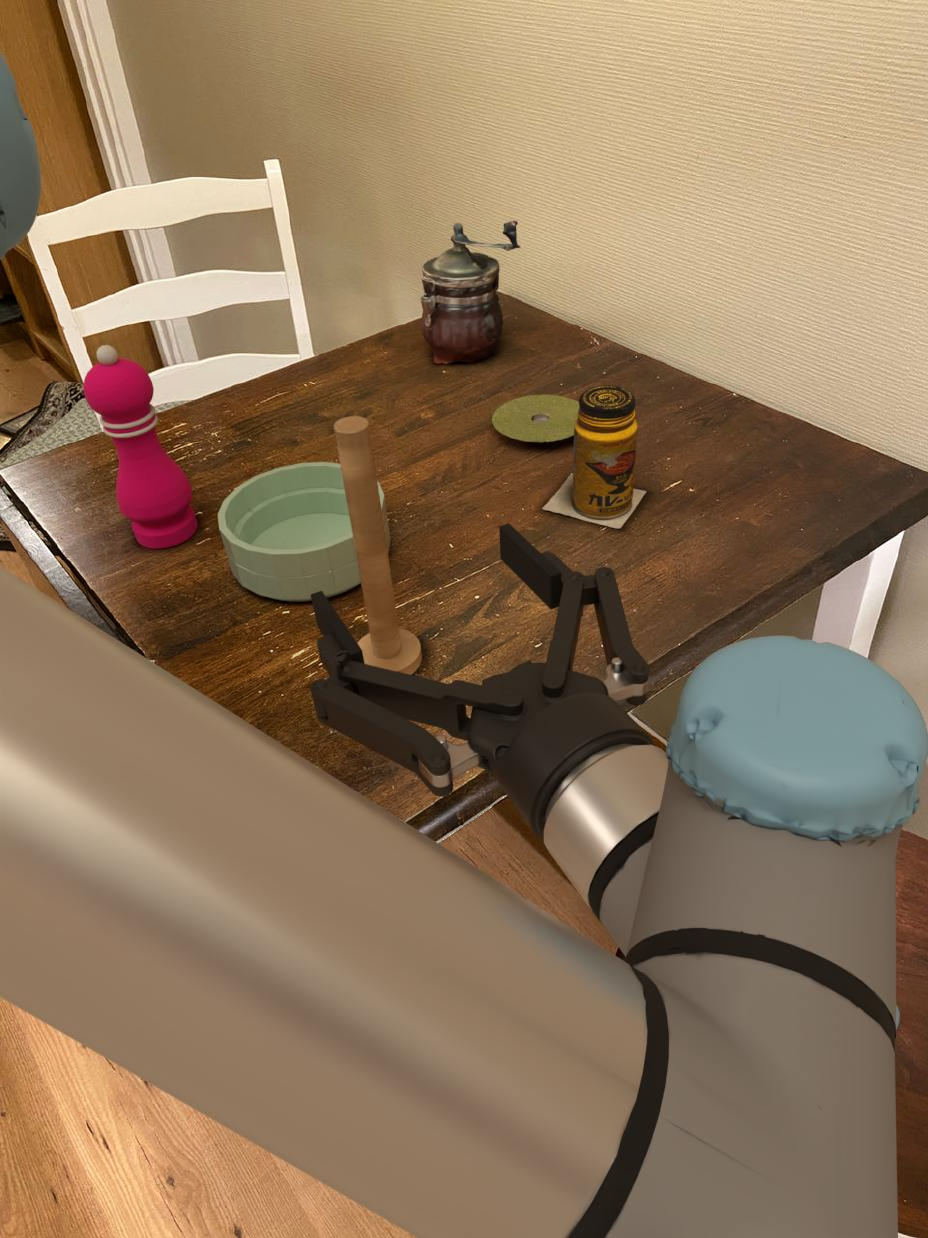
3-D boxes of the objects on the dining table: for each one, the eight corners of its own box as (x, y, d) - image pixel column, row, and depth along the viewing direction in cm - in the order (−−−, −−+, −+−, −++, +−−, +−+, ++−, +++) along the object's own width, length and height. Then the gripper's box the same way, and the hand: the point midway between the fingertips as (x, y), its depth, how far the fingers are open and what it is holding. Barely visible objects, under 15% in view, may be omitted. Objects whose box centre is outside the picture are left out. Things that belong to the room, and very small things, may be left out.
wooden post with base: (351, 684, 72) (303, 446, 58) (360, 638, 76) (317, 406, 62) (419, 682, 72) (387, 443, 57) (424, 636, 76) (395, 403, 62)
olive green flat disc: (596, 411, 105) (596, 396, 103) (582, 459, 97) (583, 444, 95) (503, 406, 107) (503, 391, 106) (482, 452, 99) (482, 437, 98)
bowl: (215, 608, 81) (198, 556, 77) (252, 514, 92) (239, 464, 88) (382, 604, 80) (373, 551, 76) (397, 509, 91) (391, 459, 87)
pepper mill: (130, 520, 93) (62, 338, 80) (200, 506, 94) (144, 323, 81) (132, 559, 88) (59, 369, 75) (205, 542, 89) (147, 354, 76)
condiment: (620, 530, 86) (627, 419, 78) (541, 510, 90) (541, 402, 82) (646, 493, 91) (656, 385, 83) (571, 475, 94) (573, 370, 86)
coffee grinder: (501, 383, 112) (496, 236, 100) (405, 363, 118) (389, 222, 107) (547, 345, 120) (547, 204, 108) (455, 328, 126) (445, 193, 115)
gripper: (380, 952, 42) (246, 683, 57) (780, 746, 50) (572, 558, 65) (359, 861, 37) (218, 593, 52) (805, 649, 45) (575, 469, 60)
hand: (415, 573), depth 58 cm, fingers open, 13 cm apart
